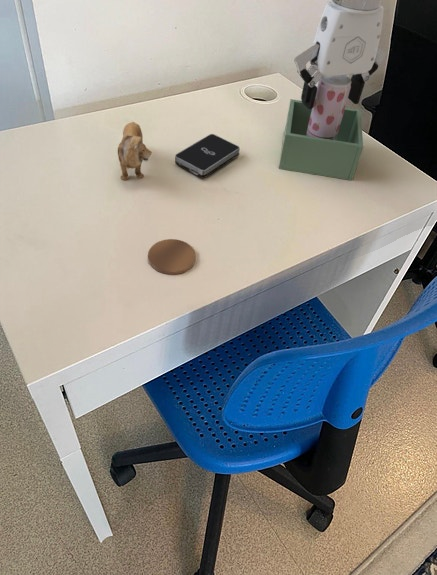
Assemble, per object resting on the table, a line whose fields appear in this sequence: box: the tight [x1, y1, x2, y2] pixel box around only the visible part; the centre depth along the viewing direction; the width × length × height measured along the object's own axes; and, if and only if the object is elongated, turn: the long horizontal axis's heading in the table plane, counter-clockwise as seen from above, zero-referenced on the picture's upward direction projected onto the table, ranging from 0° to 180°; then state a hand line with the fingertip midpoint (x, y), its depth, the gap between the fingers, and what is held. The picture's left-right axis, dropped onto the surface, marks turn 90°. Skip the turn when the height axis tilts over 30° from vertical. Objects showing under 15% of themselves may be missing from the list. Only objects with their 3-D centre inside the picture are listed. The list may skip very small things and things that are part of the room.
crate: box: [278, 98, 364, 181], centre depth 93 cm, size 14×14×7 cm
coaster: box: [147, 238, 197, 276], centre depth 73 cm, size 7×7×1 cm
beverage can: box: [306, 75, 351, 140], centre depth 90 cm, size 6×6×15 cm
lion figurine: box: [117, 121, 153, 181], centre depth 85 cm, size 15×5×9 cm, turn 13°
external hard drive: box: [174, 133, 240, 179], centre depth 91 cm, size 7×11×2 cm, turn 142°
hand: (329, 102), depth 88 cm, fingers open, 8 cm apart
